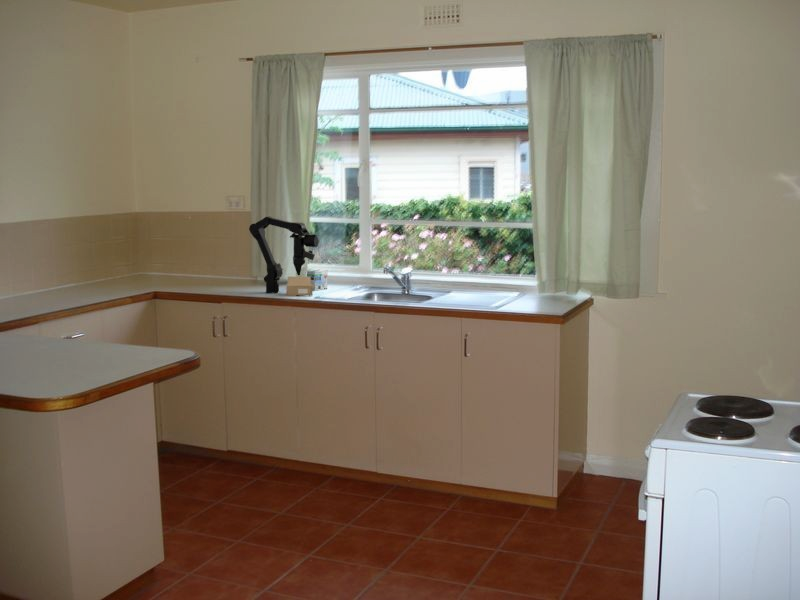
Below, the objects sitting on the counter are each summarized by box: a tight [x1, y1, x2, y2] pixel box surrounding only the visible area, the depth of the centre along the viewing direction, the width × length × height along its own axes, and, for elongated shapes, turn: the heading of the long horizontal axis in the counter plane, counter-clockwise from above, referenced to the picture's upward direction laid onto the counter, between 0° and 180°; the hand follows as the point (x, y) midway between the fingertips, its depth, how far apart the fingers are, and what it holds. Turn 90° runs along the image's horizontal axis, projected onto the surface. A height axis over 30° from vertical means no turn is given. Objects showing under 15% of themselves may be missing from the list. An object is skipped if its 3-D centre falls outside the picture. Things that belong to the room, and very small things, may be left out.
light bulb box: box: [306, 269, 328, 291], centre depth 491 cm, size 11×7×11 cm, turn 143°
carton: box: [286, 283, 313, 297], centre depth 469 cm, size 14×11×5 cm
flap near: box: [287, 276, 311, 286], centre depth 463 cm, size 12×5×1 cm
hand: (298, 275), depth 469 cm, fingers closed
